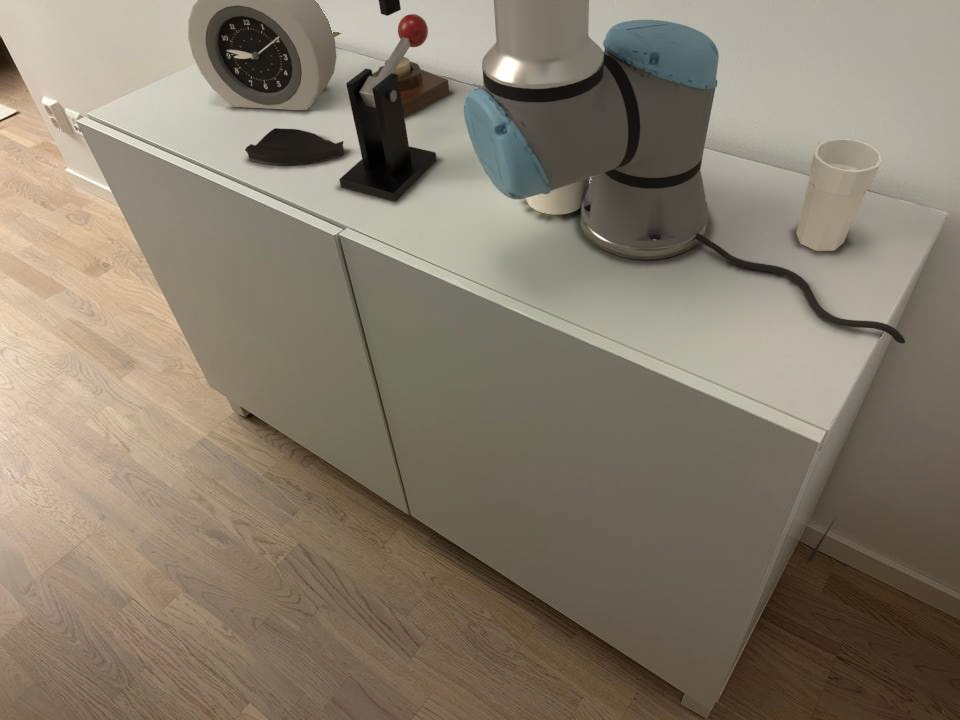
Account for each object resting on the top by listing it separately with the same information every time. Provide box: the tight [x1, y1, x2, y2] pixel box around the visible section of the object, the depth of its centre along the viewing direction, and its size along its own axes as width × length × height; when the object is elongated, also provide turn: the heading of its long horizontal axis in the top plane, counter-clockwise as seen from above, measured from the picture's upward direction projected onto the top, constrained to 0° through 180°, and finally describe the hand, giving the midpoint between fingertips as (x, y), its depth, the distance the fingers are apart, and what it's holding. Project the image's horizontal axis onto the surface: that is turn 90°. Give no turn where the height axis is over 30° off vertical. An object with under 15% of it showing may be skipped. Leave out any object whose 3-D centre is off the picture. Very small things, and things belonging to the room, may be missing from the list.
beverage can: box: [525, 178, 590, 216], centre depth 89 cm, size 8×8×12 cm
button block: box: [372, 60, 451, 118], centre depth 115 cm, size 12×10×4 cm
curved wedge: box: [244, 127, 345, 166], centre depth 106 cm, size 8×14×2 cm, turn 68°
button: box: [384, 56, 411, 77], centre depth 113 cm, size 4×4×2 cm
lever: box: [359, 13, 429, 108], centre depth 94 cm, size 14×4×4 cm, turn 152°
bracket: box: [338, 68, 437, 202], centre depth 96 cm, size 11×9×14 cm
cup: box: [795, 137, 883, 252], centre depth 80 cm, size 7×7×11 cm
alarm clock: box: [187, 0, 337, 111], centre depth 111 cm, size 21×8×20 cm, turn 77°
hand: (390, 11), depth 107 cm, fingers closed
